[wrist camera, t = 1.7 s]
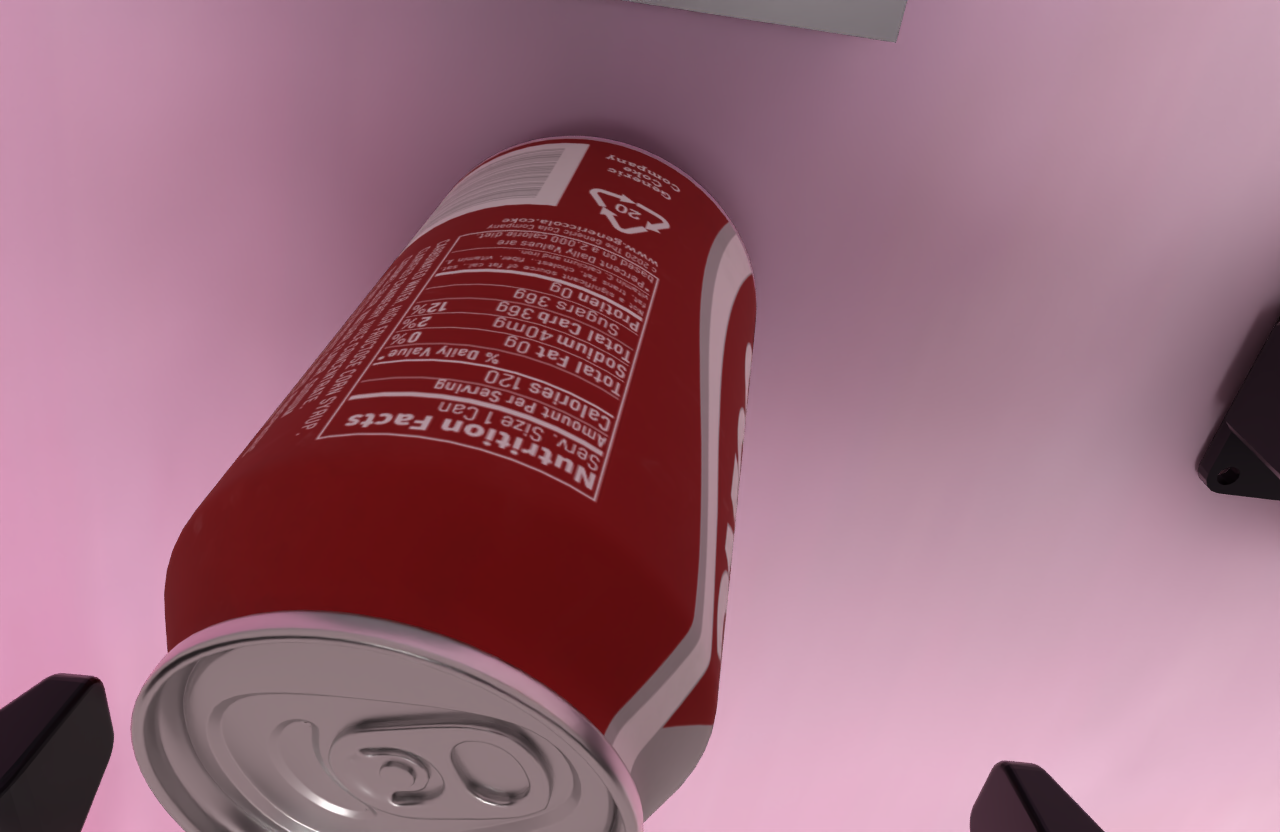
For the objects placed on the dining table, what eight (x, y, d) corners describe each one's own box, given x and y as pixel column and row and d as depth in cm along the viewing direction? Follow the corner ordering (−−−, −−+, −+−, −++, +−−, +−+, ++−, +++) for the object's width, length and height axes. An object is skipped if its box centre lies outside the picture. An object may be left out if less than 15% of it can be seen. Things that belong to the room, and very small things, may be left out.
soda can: (385, 161, 19) (-69, 612, 9) (720, 86, 17) (594, 549, 7) (499, 433, 22) (260, 964, 13) (785, 395, 21) (759, 980, 11)
